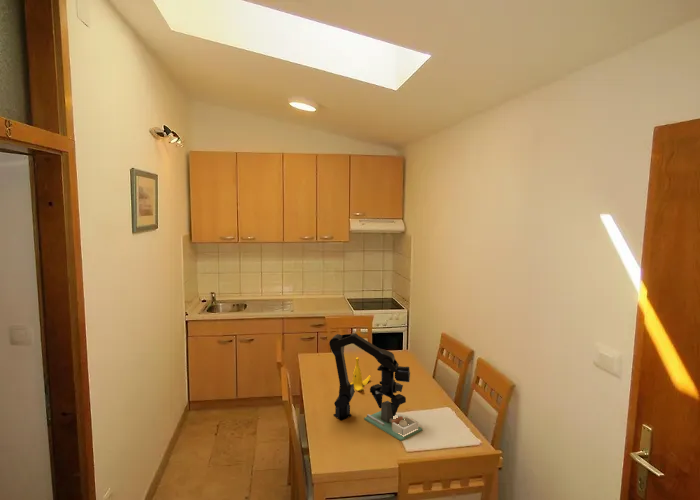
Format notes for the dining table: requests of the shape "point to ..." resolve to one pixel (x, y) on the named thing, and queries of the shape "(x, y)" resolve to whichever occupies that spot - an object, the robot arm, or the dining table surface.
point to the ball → (403, 423)
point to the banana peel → (358, 378)
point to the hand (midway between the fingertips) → (387, 411)
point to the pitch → (394, 426)
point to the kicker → (388, 413)
